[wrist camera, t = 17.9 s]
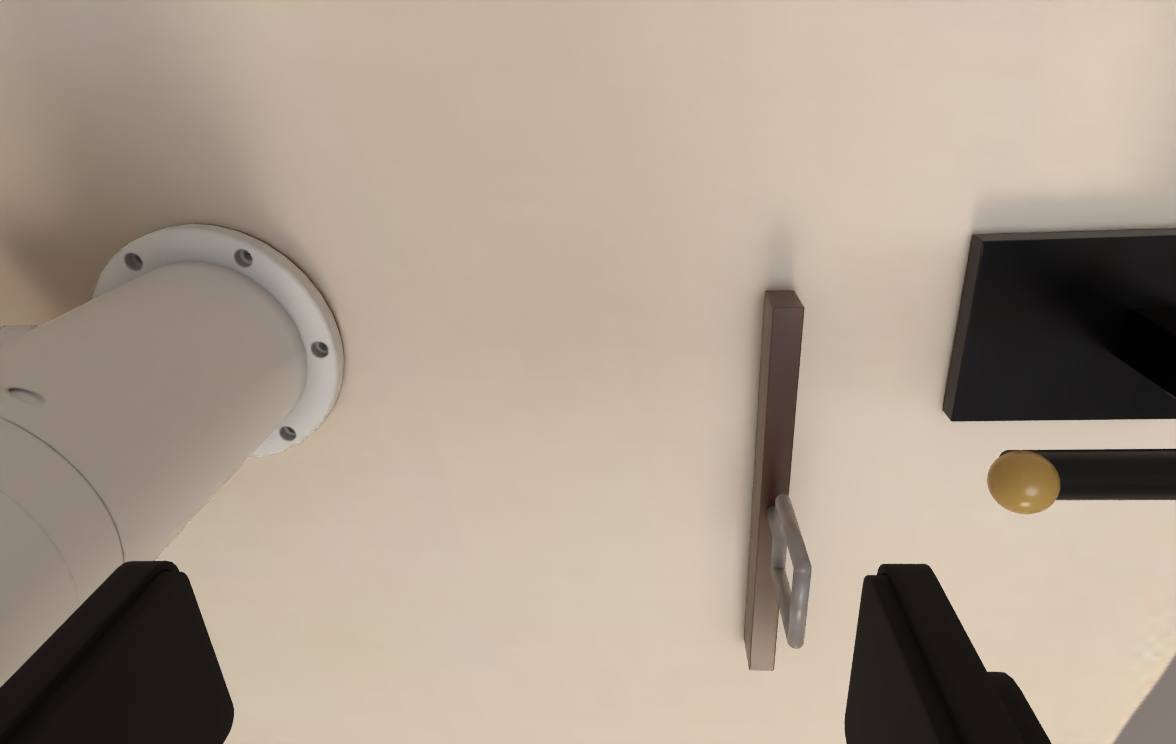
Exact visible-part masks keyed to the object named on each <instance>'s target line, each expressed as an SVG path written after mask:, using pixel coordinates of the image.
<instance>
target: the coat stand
mask: <svg viewBox="0 0 1176 744" xmlns="http://www.w3.org/2000/svg"><path fill="white" fill-rule="evenodd" d="M943 411H944V413H945V414H946V415H947V416H948V418H949V419H950V420H951V421H1023V420H1111V419H1176V228H1169V229H1137V230H1105V231H1073V232H1041V233H1009V234H977V235H973V236H972V241H971V247H970V253H969V258H968V264H967V270H966V276H965V282H964V288H963V293H962V299H961V305H960V311H959V317H958V323H957V329H956V334H955V340H954V346H953V352H952V358H951V364H950V369H949V375H948V381H947V387H946V393H945V399H944V404H943ZM987 483H988V488H989V491H990V493H991V495H992V496H993V498H994V499H995V500H996V501H997V503H999V504H1000V505H1001V506H1002V507H1004V508H1006V509H1007V510H1010V511H1012V512H1015V513H1020V514H1033V513H1038V512H1041V511H1043V510H1045V509H1047V508H1048V507H1050V506H1051V505H1052V504H1053V503H1054V502H1055V500H1176V449H1104V450H1006V451H1004V452H1002V453H1001V455H1000V456H999V458H998V459H996V460H995V461H994V463H993V464H992V465H991V467H990V469H989V472H988V477H987Z"/></svg>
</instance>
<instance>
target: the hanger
mask: <svg viewBox="0 0 1176 744" xmlns="http://www.w3.org/2000/svg"><path fill="white" fill-rule="evenodd" d="M803 318H804V307H803V305H802V303H801V301H800V300H799V298H798V296H797V295H796V293H795V291H765V298H764V314H763V331H762V348H761V365H760V381H759V398H758V415H757V431H756V448H755V465H754V482H753V498H752V515H751V532H750V549H749V565H748V582H747V599H746V616H745V632H744V642H745V648H746V653H747V659H748V665H749V670H771V671H773V670H774V662H775V651H776V639H777V627H778V615H779V608H780V612H781V616H782V621H783V625H784V629H785V633H786V637H787V642H788V644H789V646H791V647H792V648H794V649H798V648H801V647H802V646H803V643H804V635H805V626H806V616H807V607H808V597H809V588H810V578H811V564H810V561H809V557H808V554H807V551H806V548H805V545H804V542H803V538H802V535H801V532H800V529H799V526H798V523H797V519H796V516H795V513H794V510H793V507H792V504H791V500H790V498H789V497H788V496H789V484H790V473H791V461H792V449H793V437H794V425H795V413H796V401H797V389H798V378H799V366H800V354H801V342H802V330H803ZM787 545H788V549H789V553H790V556H791V560H792V563H793V567H794V571H793V582H792V593H791V590H790V586H789V582H788V578H787V575H786V571H785V562H786V551H787Z"/></svg>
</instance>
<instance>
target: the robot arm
mask: <svg viewBox="0 0 1176 744" xmlns="http://www.w3.org/2000/svg"><path fill="white" fill-rule="evenodd" d="M248 252H249V253H250V255H251V256H249V254H248ZM322 342H323V343H324V344H325V345H326V346H327V347H326V346H325V345H323V343H322ZM343 369H344V355H343V349H342V342H341V337H340V334H339V331H338V328H337V325H336V323H335V320H334V317H333V314H332V313H331V311H330V309H329V307H328V306H327V304H326V302H325V300H324V299H323V297H322V295H321V294H320V292H319V291H318V290H317V289H316V287H315V286H314V285H313V284H312V282H311V281H310V280H309V279H308V278H307V276H306V275H305V274H304V273H303V272H302V271H301V270H300V269H299V268H297V267H296V266H295V265H294V264H293V263H292V262H291V261H290V260H289V259H287V258H286V257H285V256H284V255H282V254H281V253H279V252H277V251H276V250H274V249H273V248H271V247H270V246H268V245H267V244H265V243H264V242H262V241H259V240H257V239H255V238H253V237H250V236H248V235H246V234H243V233H241V232H239V231H235V230H231V229H227V228H223V227H219V226H215V225H202V224H184V225H177V226H170V227H165V228H163V229H160V230H157V231H154V232H151V233H149V234H146V235H144V236H142V237H140V238H138V239H136V240H134V241H132V242H130V243H128V244H127V245H125V246H124V247H123V248H122V249H121V250H120V251H119V252H118V253H116V254H115V255H114V256H113V257H112V258H111V259H110V261H109V262H108V264H107V265H106V267H105V268H104V270H103V271H102V273H101V274H100V276H99V279H98V282H97V285H96V288H95V290H94V293H93V299H92V300H90V301H88V302H86V303H84V304H82V305H80V306H78V307H76V308H74V309H72V310H70V311H68V312H66V313H64V314H62V315H60V316H57V317H55V318H53V319H51V320H49V321H47V322H45V323H43V324H41V325H39V326H4V327H2V328H0V744H223V743H224V741H225V739H226V738H227V736H228V734H229V732H230V730H231V727H232V724H233V718H234V708H233V703H232V700H231V698H230V695H229V692H228V689H227V686H226V683H225V681H224V678H223V675H222V672H221V669H220V666H219V663H218V661H217V658H216V655H215V652H214V649H213V646H212V644H211V641H210V638H209V635H208V632H207V629H206V626H205V624H204V621H203V618H202V615H201V612H200V609H199V607H198V604H197V601H196V598H195V595H194V592H193V589H192V587H191V584H190V581H189V579H188V577H187V575H186V574H185V573H183V572H179V570H178V568H177V566H176V565H175V564H174V563H172V562H169V561H154V560H155V559H156V558H157V557H158V556H159V555H160V553H161V552H162V551H163V550H164V549H165V548H166V547H167V546H168V545H169V544H170V543H171V542H172V540H173V539H174V538H175V537H176V536H177V535H178V534H179V533H180V532H181V531H182V530H183V528H184V527H185V526H186V525H187V524H188V523H189V522H190V521H191V520H192V519H193V518H194V517H195V515H196V514H197V513H198V512H199V511H200V510H201V509H202V508H203V507H204V506H205V505H206V504H207V502H208V501H209V500H210V499H211V498H212V497H213V496H214V495H215V494H216V493H217V492H218V491H219V489H220V488H221V487H222V486H223V485H224V484H225V483H226V482H227V481H228V480H229V479H230V478H231V476H232V475H233V474H234V473H235V472H236V471H237V470H238V469H239V468H240V467H241V466H242V464H243V463H244V462H245V461H246V460H247V459H248V458H251V457H262V456H268V455H272V454H275V453H279V452H282V451H286V450H287V449H289V448H291V447H293V446H295V445H297V444H299V443H301V442H302V441H304V440H305V439H306V438H307V437H308V436H309V435H311V434H312V433H313V432H314V431H315V430H316V429H317V428H318V427H319V426H320V425H321V423H322V422H323V421H324V420H325V418H326V417H327V416H328V415H329V413H330V411H331V409H332V408H333V406H334V404H335V402H336V400H337V398H338V395H339V392H340V388H341V385H342V381H343ZM845 736H846V743H847V744H1051V742H1050V740H1049V738H1048V737H1047V735H1046V733H1045V731H1044V730H1043V728H1042V726H1041V724H1040V723H1039V721H1038V719H1037V717H1036V716H1035V714H1034V712H1033V710H1032V709H1031V707H1030V705H1029V703H1028V702H1027V700H1026V698H1025V696H1024V695H1023V693H1022V691H1021V690H1020V688H1019V687H1018V685H1017V684H1016V683H1015V681H1014V680H1013V679H1012V678H1011V677H1010V676H1009V675H1007V674H1006V673H1004V672H987V671H986V669H985V667H984V665H983V663H982V661H981V660H980V658H979V656H978V654H977V652H976V650H975V648H974V647H973V645H972V643H971V641H970V639H969V637H968V635H967V634H966V632H965V630H964V628H963V626H962V624H961V622H960V620H959V619H958V617H957V615H956V613H955V611H954V609H953V607H952V606H951V604H950V602H949V600H948V598H947V596H946V594H945V593H944V591H943V589H942V587H941V585H940V583H939V581H938V580H937V578H936V576H935V574H934V572H933V571H932V569H931V568H930V566H928V565H926V564H882V565H880V567H879V569H878V573H877V575H867V576H865V578H864V582H863V588H862V595H861V602H860V610H859V617H858V625H857V632H856V639H855V647H854V654H853V662H852V669H851V676H850V684H849V691H848V699H847V706H846V713H845Z"/></svg>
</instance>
